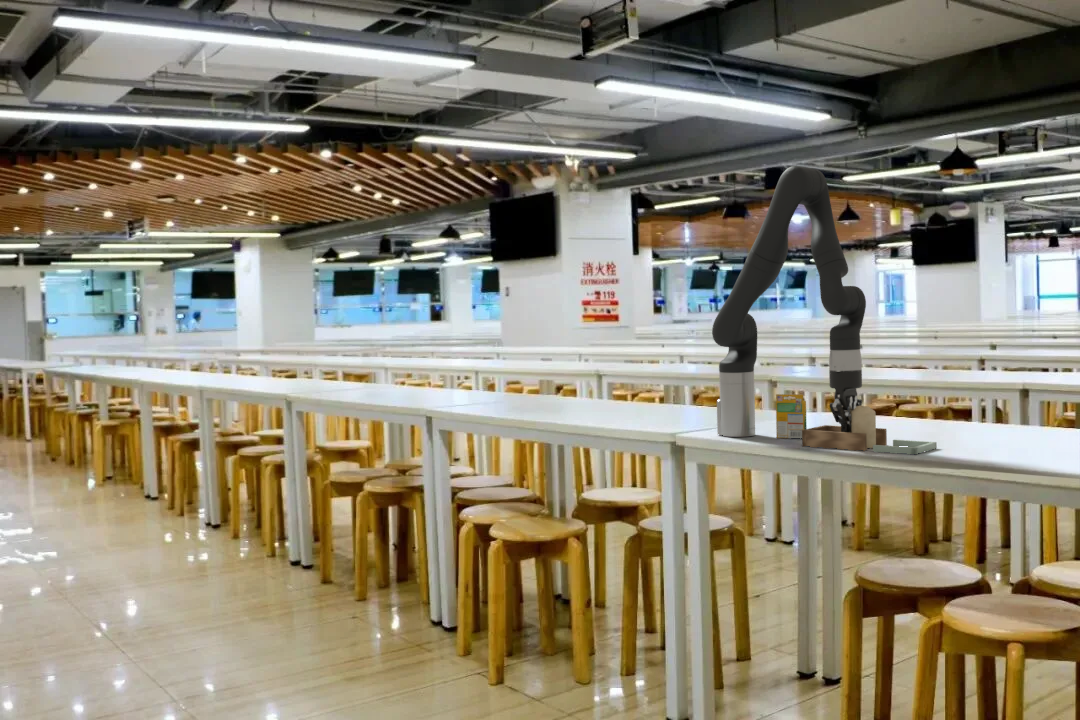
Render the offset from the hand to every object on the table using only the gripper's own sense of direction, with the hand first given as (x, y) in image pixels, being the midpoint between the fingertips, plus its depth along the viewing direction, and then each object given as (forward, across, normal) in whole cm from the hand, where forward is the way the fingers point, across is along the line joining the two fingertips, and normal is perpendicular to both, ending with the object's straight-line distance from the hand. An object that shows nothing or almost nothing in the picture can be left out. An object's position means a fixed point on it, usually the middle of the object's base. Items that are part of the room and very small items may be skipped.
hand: (846, 439), depth 234 cm
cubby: (+2, 0, -1) cm, 2 cm away
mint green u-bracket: (+2, 0, +14) cm, 14 cm away
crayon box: (+2, -7, -19) cm, 20 cm away
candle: (+2, 0, +4) cm, 5 cm away
